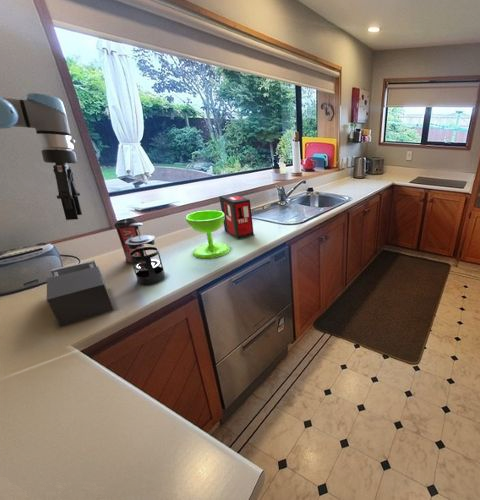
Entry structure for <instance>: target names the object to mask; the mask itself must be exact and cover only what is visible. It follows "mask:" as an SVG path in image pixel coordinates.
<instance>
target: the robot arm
mask: <svg viewBox="0 0 480 500" xmlns="http://www.w3.org/2000/svg"><path fill="white" fill-rule="evenodd" d="M68 120H69V119H68V115H67V112H66V109H65V106H64V103H63V100H61V98H59V97H57V96H54V95H50V94H44V93H36V92H35V93H34V92H30V93H27V94H26V99H17V98H11V97H4V96H0V130H2V129H10V128H12V127H15V128H17V127H19V128H28V129H29V128H30V129H35V133H36V138H37V142H38V145H39V148H41V156H42V160H43V162H44V163H47V164H54V165H53V166H52V168H53V173H54V175H55V180H56V187H57V192H58V195H56V199H57V200H60V202H61V206H62V209H63V213H64V218H65V220H66V221H72V220H73V221H74V220H79V216H83V213H82V208H81V205H80V200H79V196H81V193H80V192H78V190H77V186H76V184H75V178H74V172H73V169H72V168H71V166H69V165H68V164H77V163H78V160H77V155H76V152H75V151H73V150H74V149H75V148H74V147H75V146H74V144H75V143H76V140H75V139H72V133H71V129H70V124H69V121H68Z"/></svg>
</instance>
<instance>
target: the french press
mask: <svg viewBox="0 0 480 500" xmlns="http://www.w3.org/2000/svg"><path fill="white" fill-rule="evenodd" d="M141 226H144V223H143V222H137V223H133V224H130V225H129V227H135V229H137V232H138V236H136V237H132V238H130V239H128V240H126V242H125V243H126V244H127V245H128V247H129V248H130V249H135V248H136V247H138V246H139V245H141V246H142V247H138V249H136V250H133V251H131V252H130V253H129V255H130V258H131V261H132V259H133V260H142V261H140V262H137V263H136V265H135V263H133V261H132V263H131V264H132V267H133V270H134V273H135V277H136V279H137V284H138V285H140V286H151V285H155V284H158V283H160V282H162V281H164V280H165V279H166V277H167V274H166V273H165V270H164V269H165V268H164V266H163V262H162V259H161V255H160V252H159V248H158V247H156V246H153V245H155V244H156V243H155V239H156V237H155V236H154V235H149V234H143V235H142V234H140V235H141V236H140V235H139V231H140V228H139V227H141ZM138 229H139V231H138ZM142 244H143V245H151V246H144V247H143V245H142ZM145 251H146V252H145ZM147 251H154V252H153V253H150V254H147ZM137 252H139V253H140V256H139V257H135V256H132V255H133V254H135V253H137ZM146 254H147V255H146ZM156 256H158V259H151V258H154V257H156Z"/></svg>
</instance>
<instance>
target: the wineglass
mask: <svg viewBox="0 0 480 500" xmlns="http://www.w3.org/2000/svg"><path fill="white" fill-rule="evenodd" d="M224 219H225V214H224V213H223V212H222V210H215V209H214V210H213V209H209V210H198V211H194V212H191V213H188V214H187V215H186V216H185V220H186V222H187V224H188V225H189V226H190V228H191V229H193V230H194V231H195V232H199V233H202V234H203V233H204V234H206V237H207V244H203V245H200V246H198V247H197V248H195V249H194V251H193V256H194V257H196V258H199V259H215V258H219V257H222V256H224V255H227V254H228V253H229V252H230V250H231V248H230V246H229V245H228V244H225V243H221V242H214V241H213V237H212V233H213V232H216V231H218V230H219V229H220V228H221V227H222V226H223V225H224Z"/></svg>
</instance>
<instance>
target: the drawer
mask: <svg viewBox="0 0 480 500" xmlns="http://www.w3.org/2000/svg"><path fill="white" fill-rule="evenodd" d="M93 267H97V263H96V261H95V259H93V260H88V261H83V262H80V263H79V262H78V263H75V264H69V265H66V266H61V267H56V268H52V269H50V274H51V276H52V277H55V276H59V275H63V274H67V273H72V272H76V271H80V270H85V269H89V268H93Z"/></svg>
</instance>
